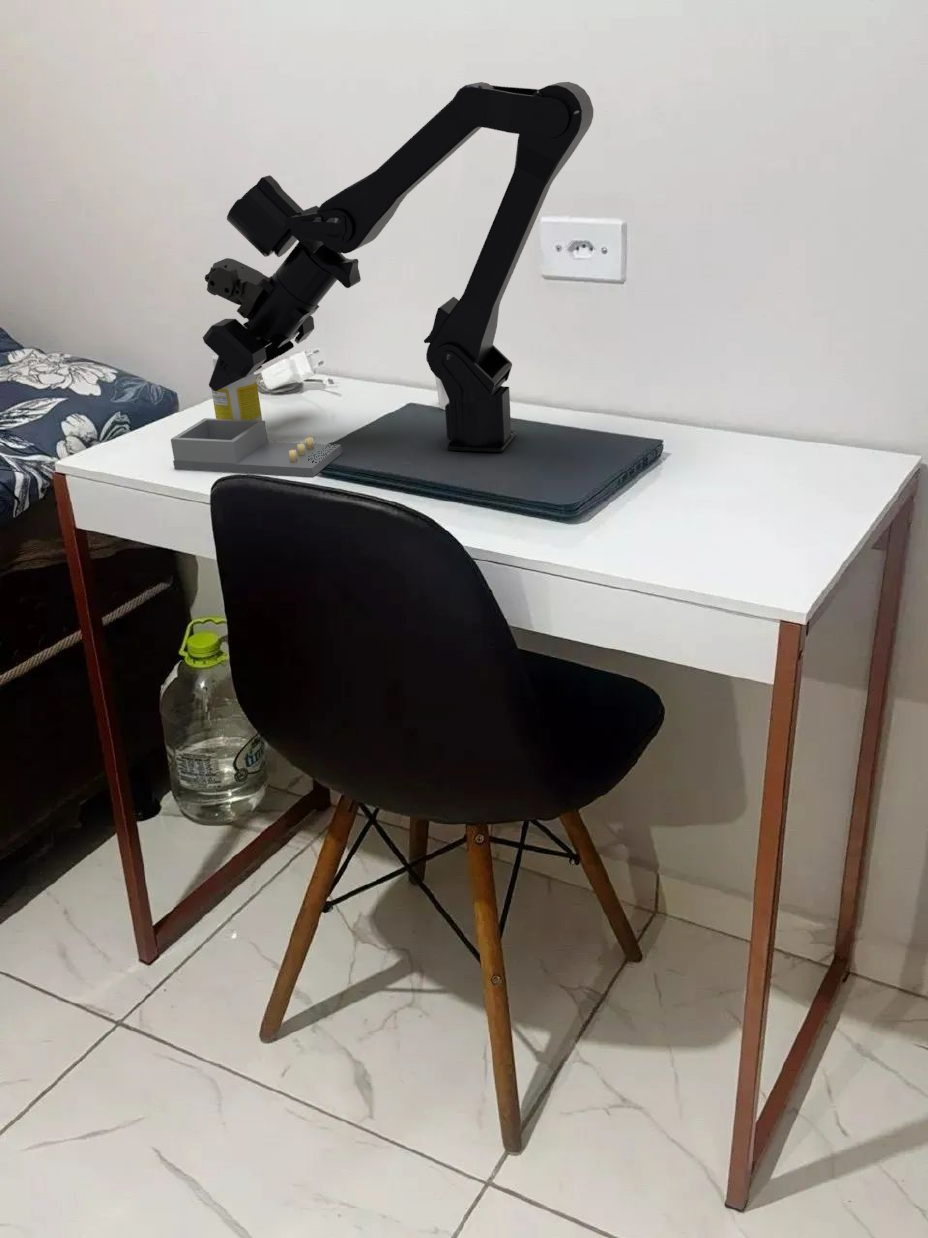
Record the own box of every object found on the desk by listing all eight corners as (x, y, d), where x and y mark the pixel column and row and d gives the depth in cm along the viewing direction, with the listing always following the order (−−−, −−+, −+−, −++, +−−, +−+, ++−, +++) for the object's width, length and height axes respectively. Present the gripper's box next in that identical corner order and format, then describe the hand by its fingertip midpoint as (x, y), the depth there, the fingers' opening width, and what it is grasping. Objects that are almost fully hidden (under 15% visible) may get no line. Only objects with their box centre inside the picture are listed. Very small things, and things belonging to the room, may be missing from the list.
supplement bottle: (265, 427, 145) (255, 347, 141) (261, 440, 140) (250, 358, 136) (221, 430, 145) (209, 350, 140) (216, 444, 140) (203, 362, 136)
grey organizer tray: (341, 453, 134) (338, 423, 133) (313, 476, 127) (309, 445, 126) (208, 446, 139) (204, 417, 138) (174, 469, 132) (169, 439, 131)
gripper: (278, 221, 139) (207, 315, 147) (206, 249, 123) (131, 353, 131) (347, 289, 140) (274, 378, 148) (285, 325, 124) (206, 423, 132)
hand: (223, 381), depth 140 cm, fingers closed on supplement bottle, 5 cm apart
